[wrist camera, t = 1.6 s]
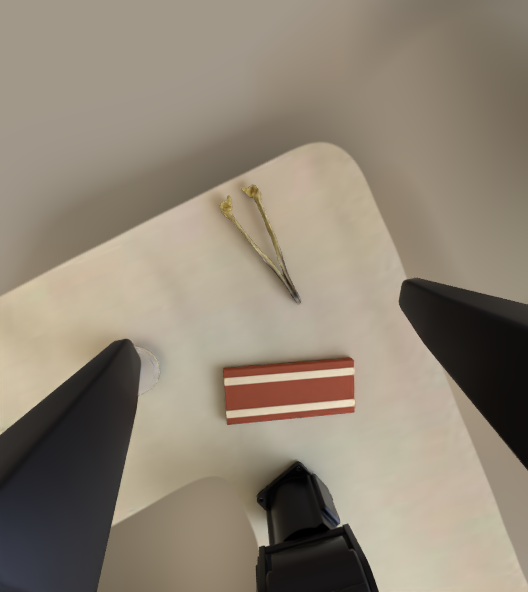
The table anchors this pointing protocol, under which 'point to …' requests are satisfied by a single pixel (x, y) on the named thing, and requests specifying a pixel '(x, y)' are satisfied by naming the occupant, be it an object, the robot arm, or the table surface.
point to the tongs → (255, 193)
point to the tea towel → (289, 390)
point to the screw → (147, 370)
